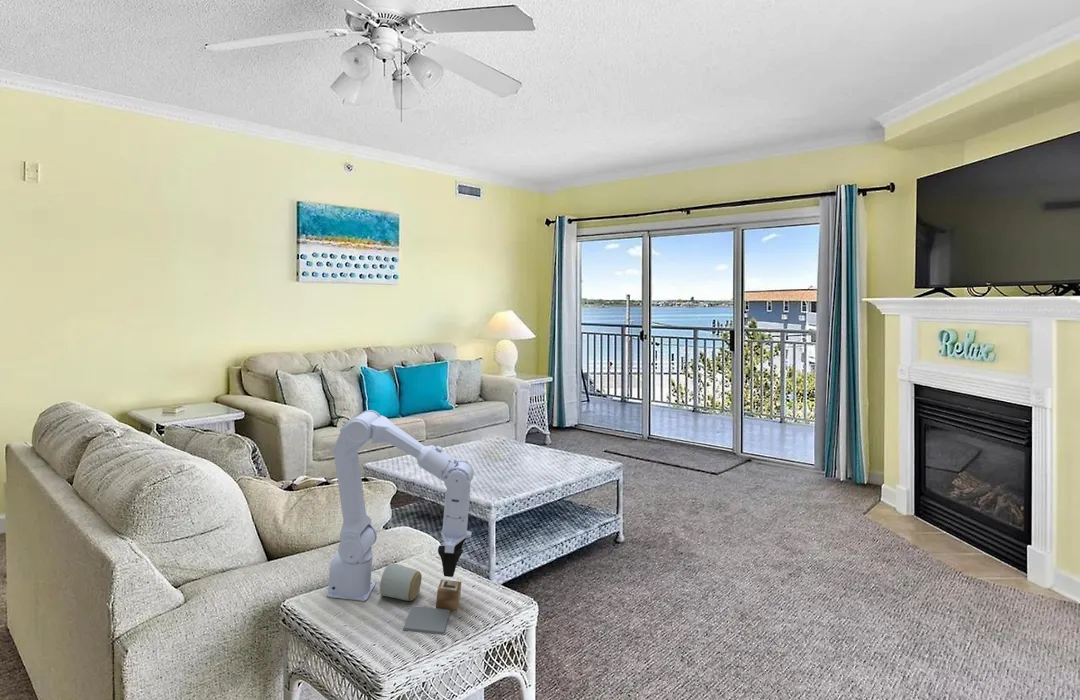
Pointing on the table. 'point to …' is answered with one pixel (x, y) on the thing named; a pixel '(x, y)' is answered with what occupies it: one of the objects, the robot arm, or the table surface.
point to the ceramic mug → (400, 582)
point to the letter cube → (448, 595)
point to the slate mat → (427, 620)
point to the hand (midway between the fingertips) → (451, 568)
